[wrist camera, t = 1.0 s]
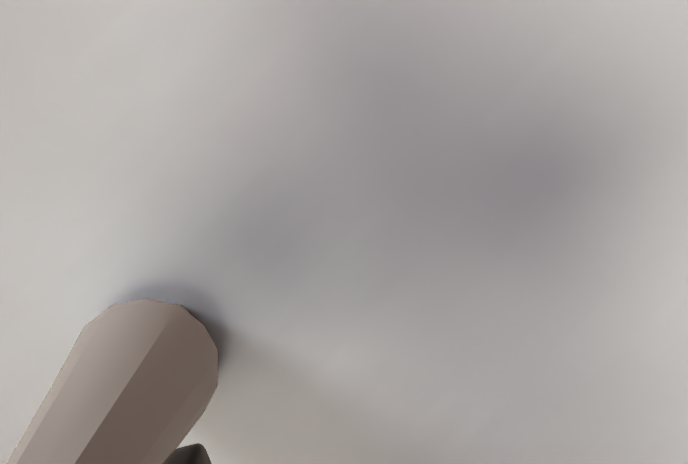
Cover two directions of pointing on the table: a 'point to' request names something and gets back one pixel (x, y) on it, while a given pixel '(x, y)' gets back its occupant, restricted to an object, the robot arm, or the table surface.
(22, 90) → the table surface
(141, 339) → the salt shaker
